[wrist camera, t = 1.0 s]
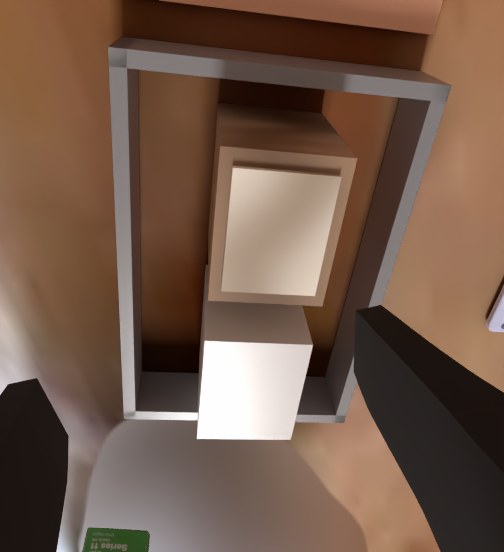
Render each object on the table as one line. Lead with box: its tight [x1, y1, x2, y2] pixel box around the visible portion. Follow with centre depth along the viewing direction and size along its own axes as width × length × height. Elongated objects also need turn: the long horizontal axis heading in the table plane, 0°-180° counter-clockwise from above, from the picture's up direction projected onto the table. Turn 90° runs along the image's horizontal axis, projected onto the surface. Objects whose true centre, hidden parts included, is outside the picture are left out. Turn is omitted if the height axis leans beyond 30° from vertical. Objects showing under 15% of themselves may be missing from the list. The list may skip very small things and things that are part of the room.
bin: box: [108, 37, 451, 423], centre depth 23 cm, size 12×18×3 cm
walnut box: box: [208, 103, 357, 306], centre depth 19 cm, size 4×6×6 cm
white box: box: [197, 265, 313, 440], centre depth 24 cm, size 4×6×6 cm
